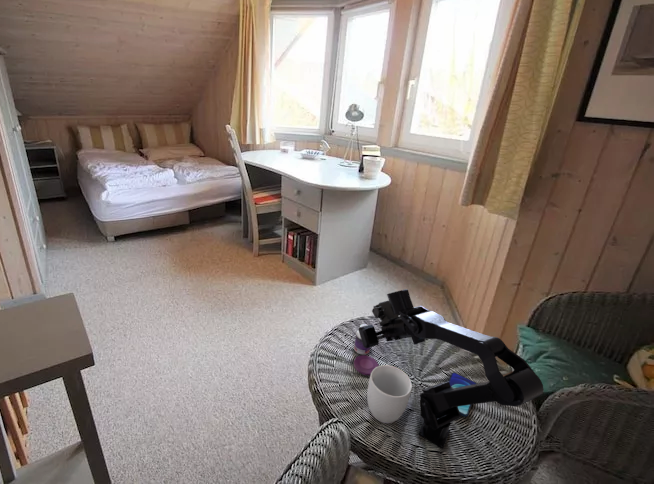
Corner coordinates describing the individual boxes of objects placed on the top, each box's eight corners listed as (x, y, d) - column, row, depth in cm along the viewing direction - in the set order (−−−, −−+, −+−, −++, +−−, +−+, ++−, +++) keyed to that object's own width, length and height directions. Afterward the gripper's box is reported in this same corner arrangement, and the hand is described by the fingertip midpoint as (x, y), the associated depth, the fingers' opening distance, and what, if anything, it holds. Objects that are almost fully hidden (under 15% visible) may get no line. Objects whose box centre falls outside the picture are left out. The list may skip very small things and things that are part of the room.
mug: (386, 384, 111) (394, 352, 105) (418, 409, 103) (428, 376, 97) (355, 410, 102) (362, 377, 96) (387, 438, 94) (396, 404, 89)
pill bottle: (368, 357, 121) (373, 334, 117) (352, 352, 122) (356, 330, 118) (370, 346, 125) (374, 324, 121) (355, 342, 127) (358, 321, 123)
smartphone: (477, 383, 111) (467, 416, 100) (477, 385, 111) (466, 418, 100) (452, 371, 115) (439, 401, 104) (451, 373, 115) (439, 404, 104)
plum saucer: (371, 379, 112) (372, 377, 112) (349, 367, 116) (349, 364, 116) (382, 365, 118) (382, 362, 117) (360, 353, 122) (360, 351, 122)
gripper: (417, 294, 108) (387, 302, 122) (366, 307, 101) (341, 315, 115) (430, 330, 105) (399, 335, 119) (379, 346, 98) (352, 349, 112)
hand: (373, 333), depth 116 cm, fingers open, 9 cm apart
